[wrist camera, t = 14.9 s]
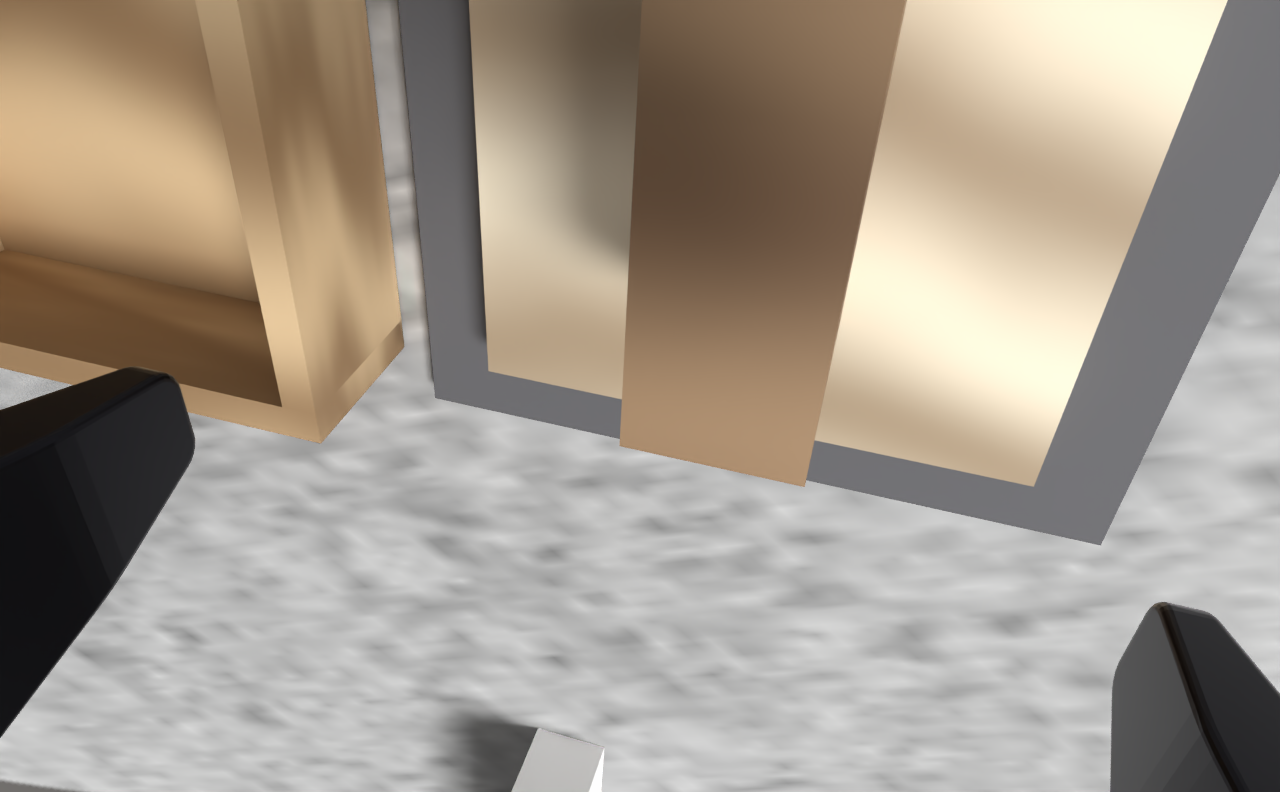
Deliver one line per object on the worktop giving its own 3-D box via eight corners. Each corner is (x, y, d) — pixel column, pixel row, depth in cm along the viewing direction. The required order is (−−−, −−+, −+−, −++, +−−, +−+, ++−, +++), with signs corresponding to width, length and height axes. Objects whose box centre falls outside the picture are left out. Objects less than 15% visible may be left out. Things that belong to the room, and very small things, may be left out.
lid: (1031, 456, 21) (1047, 680, 16) (505, 347, 23) (384, 517, 18) (1356, -384, 12) (1588, -424, 8) (474, -427, 15) (235, -478, 10)
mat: (1098, 530, 22) (1100, 545, 22) (443, 386, 25) (435, 397, 25) (1630, -595, 11) (1654, -604, 11) (357, -612, 14) (340, -620, 14)
